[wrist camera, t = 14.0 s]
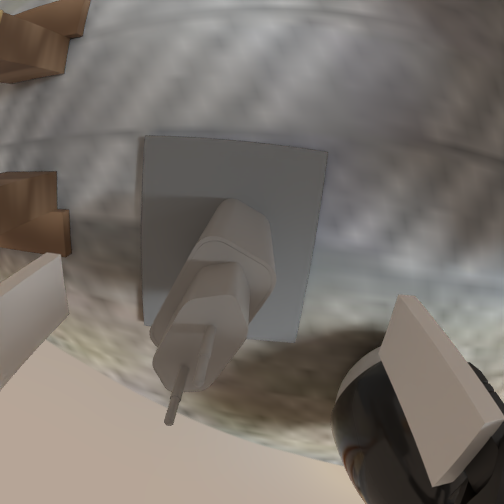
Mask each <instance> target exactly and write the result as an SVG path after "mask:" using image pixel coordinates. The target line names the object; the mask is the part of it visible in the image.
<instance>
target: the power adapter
mask: <svg viewBox="0 0 504 504" xmlns="http://www.w3.org/2000/svg"><path fill="white" fill-rule="evenodd" d="M275 285H276V271H275V263H274V255H273V246H272V238H271V231H270V224H269V221H268V219H267V218H266V217H265V216H264V215H262V214H261V213H259V212H257V211H256V210H254V209H252V208H251V207H249V206H247V205H246V204H244V203H242V202H241V201H239V200H237V199H226V200H224V201H223V202H222V203H221V204H220V205H219V207H218V208H217V210H216V211H215V213H214V215H213V216H212V218H211V220H210V221H209V223H208V225H207V226H206V228H205V230H204V231H203V233H202V235H201V237H200V238H199V240H198V242H197V243H196V245H195V247H194V248H193V250H192V252H191V254H190V256H189V257H188V259H187V261H186V263H185V264H184V266H183V268H182V270H181V272H180V274H179V275H178V277H177V279H176V281H175V283H174V284H173V286H172V288H171V290H170V292H169V294H168V295H167V297H166V299H165V301H164V303H163V305H162V307H161V309H160V310H159V312H158V314H157V316H156V318H155V320H154V322H153V324H152V326H151V328H150V338H151V340H152V342H153V343H154V344H155V345H156V346H157V347H158V348H157V351H156V353H155V355H154V358H153V368H154V370H155V372H156V373H157V375H158V377H159V378H160V380H161V382H162V383H163V385H164V386H165V388H166V389H167V390H169V391H171V392H172V394H171V397H170V403H169V406H168V410H167V413H166V416H165V420H164V423H165V424H166V425H168V426H171V425H173V423H174V419H175V416H176V412H177V409H178V405H179V402H180V401H181V397H182V394H183V392H196V391H203V390H205V389H207V388H208V387H209V386H211V385H212V383H213V382H214V381H215V380H216V378H217V377H218V376H219V374H220V373H221V372H222V371H223V369H224V368H225V367H226V365H227V364H228V363H229V361H230V360H231V359H232V358H233V356H234V355H235V354H236V352H237V351H238V350H239V348H240V347H241V346H242V344H243V343H244V341H245V339H246V338H247V334H248V325H249V323H250V322H251V321H252V319H253V318H254V317H255V315H256V314H257V312H258V311H259V310H260V308H261V307H262V305H263V304H264V303H265V301H266V300H267V298H268V297H269V296H270V294H271V293H272V291H273V289H274V288H275Z"/></svg>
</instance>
